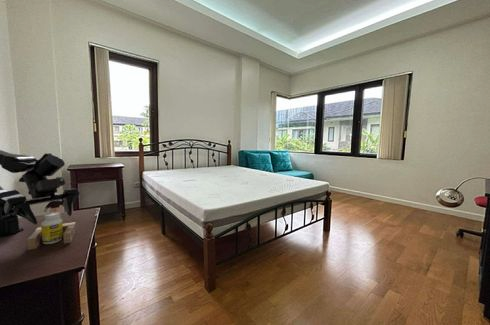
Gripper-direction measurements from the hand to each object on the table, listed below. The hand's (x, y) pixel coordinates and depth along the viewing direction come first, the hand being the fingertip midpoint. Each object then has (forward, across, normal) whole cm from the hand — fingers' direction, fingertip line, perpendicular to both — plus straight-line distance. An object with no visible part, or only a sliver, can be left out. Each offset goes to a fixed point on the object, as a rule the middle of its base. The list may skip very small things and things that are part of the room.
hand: (54, 219), depth 70 cm
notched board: (+4, 0, +7) cm, 8 cm away
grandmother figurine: (-10, +9, +22) cm, 26 cm away
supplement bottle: (+5, 0, +7) cm, 8 cm away
